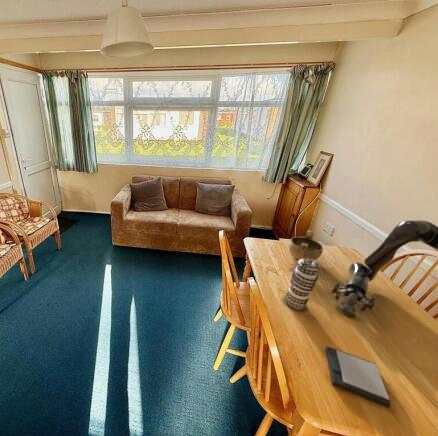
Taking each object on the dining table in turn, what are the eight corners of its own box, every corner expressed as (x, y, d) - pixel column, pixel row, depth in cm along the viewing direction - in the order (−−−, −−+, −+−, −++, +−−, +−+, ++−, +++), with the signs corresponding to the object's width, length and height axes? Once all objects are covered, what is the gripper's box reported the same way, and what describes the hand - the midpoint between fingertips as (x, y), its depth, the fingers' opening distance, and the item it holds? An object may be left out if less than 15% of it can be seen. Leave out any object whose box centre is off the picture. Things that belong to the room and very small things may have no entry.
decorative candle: (309, 314, 103) (327, 269, 92) (287, 311, 104) (302, 267, 93) (300, 299, 111) (316, 256, 100) (280, 296, 112) (294, 254, 102)
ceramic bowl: (290, 246, 154) (296, 226, 148) (320, 255, 144) (328, 234, 138) (281, 260, 139) (288, 239, 133) (315, 272, 129) (323, 250, 123)
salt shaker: (350, 320, 99) (361, 300, 94) (334, 312, 103) (344, 292, 98) (354, 314, 102) (365, 294, 97) (339, 306, 107) (348, 286, 101)
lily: (281, 276, 127) (291, 269, 120) (285, 260, 134) (295, 253, 126) (303, 287, 124) (315, 281, 117) (306, 270, 131) (318, 263, 123)
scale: (371, 368, 81) (376, 362, 79) (386, 409, 70) (392, 403, 68) (324, 351, 87) (327, 344, 85) (330, 386, 76) (334, 380, 74)
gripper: (340, 273, 112) (332, 288, 102) (380, 288, 102) (375, 307, 92) (335, 285, 115) (327, 301, 105) (373, 300, 105) (367, 320, 96)
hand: (349, 304), depth 99 cm, fingers open, 8 cm apart
